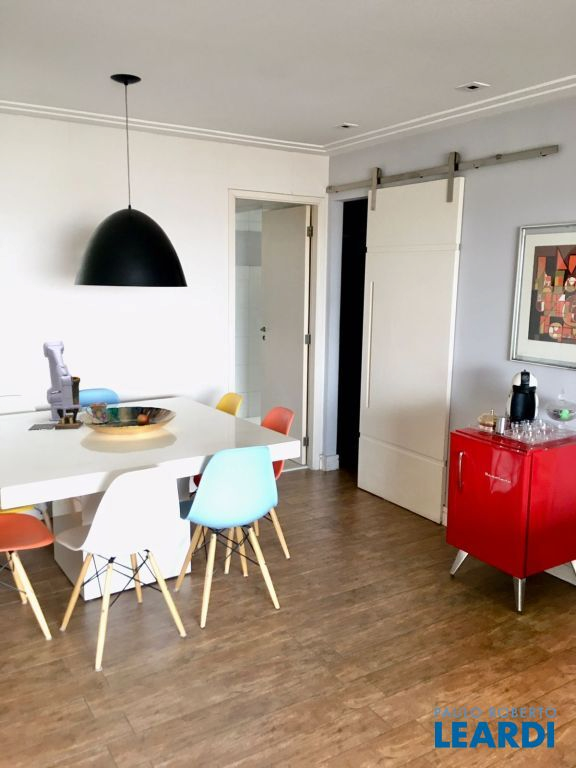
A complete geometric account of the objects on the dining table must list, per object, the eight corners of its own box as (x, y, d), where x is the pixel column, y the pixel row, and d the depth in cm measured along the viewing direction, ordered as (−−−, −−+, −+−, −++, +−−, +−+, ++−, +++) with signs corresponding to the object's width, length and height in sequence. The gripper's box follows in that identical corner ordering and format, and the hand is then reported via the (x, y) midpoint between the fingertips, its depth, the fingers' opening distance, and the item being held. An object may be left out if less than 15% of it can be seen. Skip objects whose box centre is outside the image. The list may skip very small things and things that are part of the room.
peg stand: (60, 424, 363) (59, 415, 362) (83, 423, 364) (82, 414, 364) (55, 429, 352) (54, 420, 351) (78, 428, 353) (77, 419, 352)
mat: (34, 424, 363) (34, 424, 363) (57, 424, 364) (57, 423, 364) (28, 430, 351) (28, 429, 351) (51, 429, 352) (51, 428, 352)
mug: (111, 421, 368) (109, 402, 367) (105, 425, 359) (104, 405, 357) (89, 421, 369) (88, 402, 367) (83, 425, 360) (82, 406, 358)
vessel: (85, 407, 405) (82, 375, 401) (79, 413, 391) (76, 380, 387) (61, 408, 404) (58, 376, 400) (54, 414, 390) (51, 381, 386)
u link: (65, 421, 361) (64, 415, 361) (75, 420, 362) (75, 414, 361) (61, 424, 354) (61, 418, 353) (72, 424, 354) (72, 417, 353)
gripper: (51, 399, 351) (53, 424, 353) (79, 398, 352) (81, 423, 354) (54, 397, 358) (56, 421, 360) (82, 396, 359) (83, 420, 361)
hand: (68, 422), depth 358 cm, fingers closed on u link, 6 cm apart
